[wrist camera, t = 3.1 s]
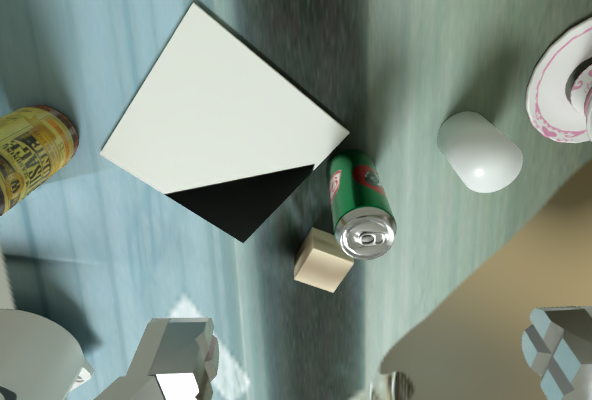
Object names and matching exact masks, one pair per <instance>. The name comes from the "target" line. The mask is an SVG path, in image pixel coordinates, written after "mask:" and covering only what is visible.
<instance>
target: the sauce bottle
mask: <svg viewBox="0 0 592 400" xmlns="http://www.w3.org/2000/svg"><path fill="white" fill-rule="evenodd" d="M78 144H79V142H78V135H77V132H76V130H75V128H74V126H73V125H72V124H71V122H70V120H69V119H68V118H67V117H66V116H65V115H63V114H62V113H60V112H58V111H56V110H54V109H52V108H49V107H47V106H43V105H36V106H31V107H24V108H20V109H18V110H16V111H13V112H11V113H9V114H7V115H5V116H3V117H1V118H0V216H2V215H3V214H4V213H5V212H7V211H8V210H9V209H11V208H12V207H13V206H14V205H15V204H17V203H18V202H19V201H20V200H22V199H23V198H25V197H26V196H27V195H28V194H29V193H30V192H32V191H33V190H35V189H36V188H37V187H39V186H40V185H41V184H42V183H43V182H44V181H46V180H47V179H48V178H49V177H50V176H52V175H53V174H54V173H56V172H57V171H58V170H59V169H60V168H62V167H63V166H64V165H66V164H67V163H68V162H69V160H70V159H71V158H72V157H73V156H74V154H75V152H76V150H77V147H78Z"/></svg>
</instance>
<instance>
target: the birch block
mask: <svg viewBox="0 0 592 400" xmlns="http://www.w3.org/2000/svg"><path fill="white" fill-rule="evenodd" d="M353 264H354V260H353V257H351V256H349V255H348V254H346V253H345V252H344V251H343V249H342V248H341V247H340V246H339V245H338V243H337V242H336V239H335V236H334V235H332V234H329V233H327V232H324V231H321V230H319V229H316V228H313V227H312V228H311V230H310V232H309V233H308V235H307V237H306V238H305V240H304V242H303V244H302V245H301V247H300V249H299V250H298V252H297V254H296V255H295V257H294V279H295V280H298V281H300V282H303V283H306V284H309V285H312V286H315V287H318V288H321V289H324V290H327V291H330V292H334V291H335V289H336V288H337V287H338V285H339V284H340V282H341V281H342V279H343V278H344V277H345V275H346V274H347V272H348V271H349V270H350V268H351V267H352V265H353Z"/></svg>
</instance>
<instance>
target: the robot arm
mask: <svg viewBox="0 0 592 400" xmlns="http://www.w3.org/2000/svg"><path fill="white" fill-rule="evenodd" d="M529 319H530V320H531V322H532V323H533V325H531V326H529V327H528V328H527V329H525V330H524V333H523V336H522V350H523V353H524V356H525V359H526V361H527V363H528V365H529V367H530V368H531V369H532V370H533V371H535V372H536V373H538V374H539V375H540V376H542V377H541V382H540V386H541V388H542V390H543V391H544V393H545V395H546V397H547V399H548V400H592V306H579V307H576V306H567V307H544V308H536V309H534V310H533V311H532V313H531V315H530V318H529ZM213 329H214V325H213V322H212V318H152V320H151V321H150V322H149V323H148V324H147V327H146V329H145V332H144V334H143V336H142V339H141V341H140V343H139V346H138V348H137V351H136V353H135V355H134V358H133V360H132V362H131V365H130V367H129V370H128V372H127V374H126V376H121V377H119V378H118V379H116V380H115V381H114V382H113V383H112V384H111V385H110V386H109V387H107V388H106V389H105V390H104V391H103V392H102V393H101V394H100V395H98V396H97V397H96V398H95V399H94V400H212V395H213V390H212V387H211V383H210V382H211V381H212V380H213V379H214V378H215V376H216V375H217V370H218V363H219V346H218V341H217V338H216V337H215V336H213V335H212V334H213ZM94 372H95V370H94V368H93V367H92V366H91V364H90V363H89V362H88V361H87V360H86V359H85V358H84V356H83V352H82V349H81V347H80V345H79V343H78V342H77V340H76V339H75V338H74V337H73V336H72V335H71V334H70V333H69V332H68V331H67V330H66V329H64V328H63V327H61V326H60V325H58V324H56V323H55V322H53V321H51V320H49V319H47V318H44V317H42V316H39V315H36V314H33V313H30V312H26V311H21V310H13V309H0V400H65V399H66V397H67V395H68V393H69V392H70V391H72V390H73V389H75V388H77V387H78V386H80V385H81V384H83V383H85V382H86V381H88V380H89V379H90V378H91V377H92V375H93V374H94Z"/></svg>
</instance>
